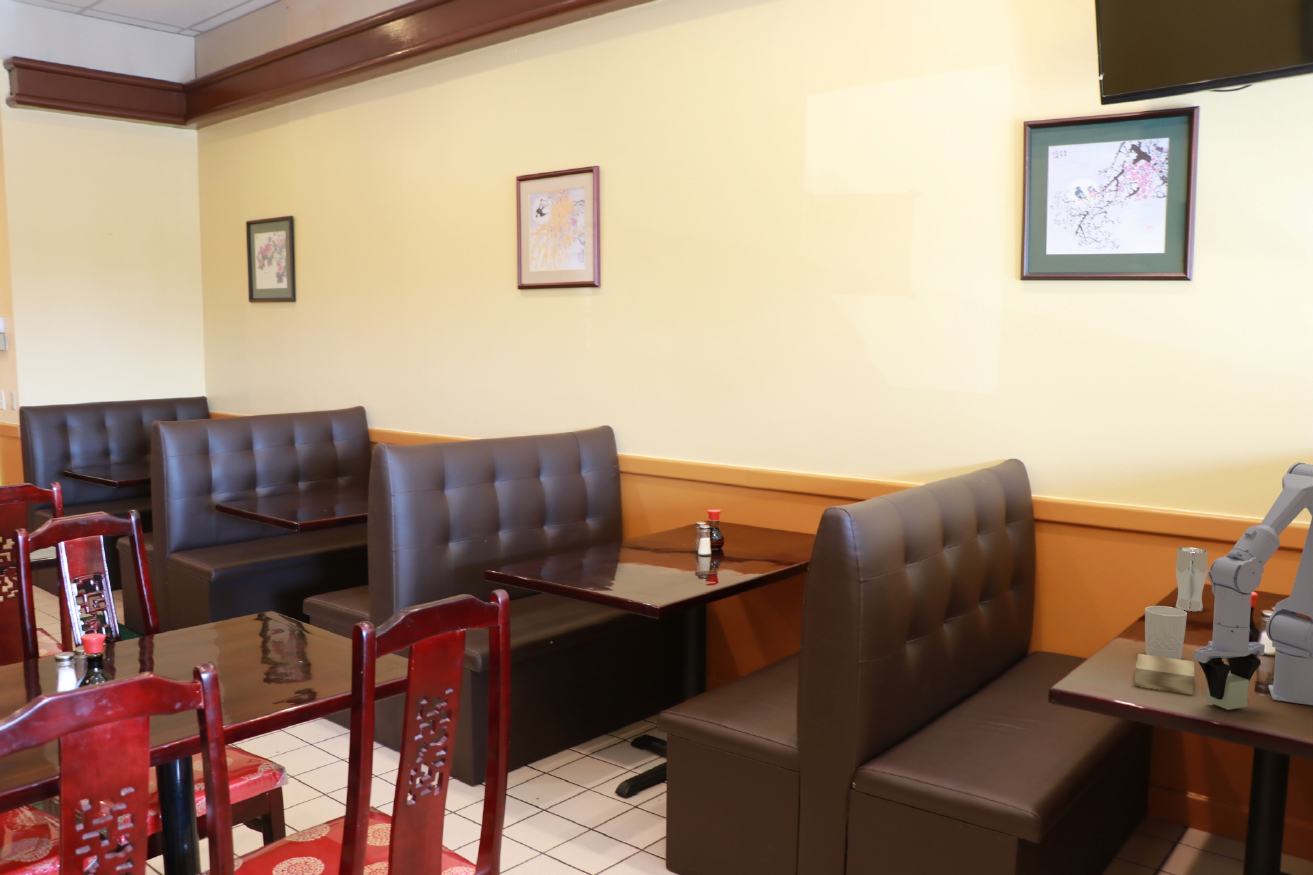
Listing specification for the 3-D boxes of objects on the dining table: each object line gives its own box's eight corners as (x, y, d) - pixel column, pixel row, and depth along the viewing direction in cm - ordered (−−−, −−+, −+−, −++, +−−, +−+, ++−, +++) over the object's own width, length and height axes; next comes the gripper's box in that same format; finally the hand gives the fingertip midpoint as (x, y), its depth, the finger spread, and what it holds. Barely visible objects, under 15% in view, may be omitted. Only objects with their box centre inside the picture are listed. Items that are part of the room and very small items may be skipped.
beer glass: (1176, 610, 246) (1179, 551, 245) (1170, 603, 253) (1174, 546, 252) (1207, 613, 244) (1211, 553, 243) (1201, 606, 251) (1204, 547, 250)
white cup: (1185, 654, 212) (1187, 609, 211) (1183, 664, 205) (1186, 617, 204) (1144, 648, 216) (1146, 603, 215) (1141, 658, 209) (1143, 612, 208)
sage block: (1225, 697, 184) (1227, 671, 184) (1247, 706, 180) (1248, 679, 179) (1206, 700, 183) (1207, 674, 182) (1227, 709, 178) (1229, 682, 178)
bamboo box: (1193, 680, 197) (1194, 661, 196) (1192, 696, 188) (1194, 676, 187) (1137, 672, 201) (1138, 653, 201) (1134, 687, 193) (1135, 667, 192)
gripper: (1242, 614, 186) (1238, 684, 187) (1182, 621, 181) (1178, 693, 182) (1276, 624, 179) (1272, 697, 180) (1214, 631, 174) (1210, 706, 176)
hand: (1227, 696), depth 181 cm, fingers closed on sage block, 5 cm apart
